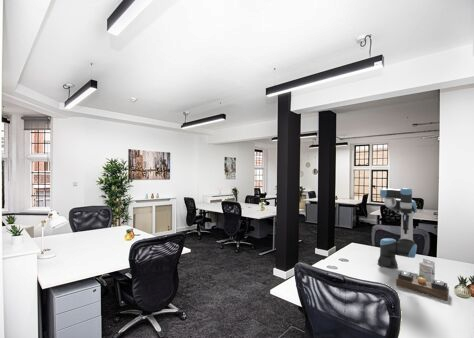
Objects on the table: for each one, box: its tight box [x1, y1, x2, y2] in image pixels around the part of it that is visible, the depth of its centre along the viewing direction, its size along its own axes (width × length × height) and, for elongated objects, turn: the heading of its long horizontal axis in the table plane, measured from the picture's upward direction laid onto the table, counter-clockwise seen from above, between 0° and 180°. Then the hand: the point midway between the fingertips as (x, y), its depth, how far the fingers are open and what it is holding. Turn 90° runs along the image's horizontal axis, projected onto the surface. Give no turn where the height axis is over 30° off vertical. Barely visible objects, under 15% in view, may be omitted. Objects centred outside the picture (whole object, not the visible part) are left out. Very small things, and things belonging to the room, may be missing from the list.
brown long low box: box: [395, 271, 450, 302], centre depth 170 cm, size 12×28×8 cm, turn 45°
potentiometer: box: [417, 277, 427, 284], centre depth 170 cm, size 4×4×3 cm
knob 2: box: [435, 279, 445, 286], centre depth 163 cm, size 5×5×4 cm
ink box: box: [418, 258, 436, 283], centre depth 188 cm, size 9×5×15 cm, turn 23°
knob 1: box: [401, 271, 411, 277], centre depth 176 cm, size 5×5×4 cm
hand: (405, 237), depth 190 cm, fingers closed
